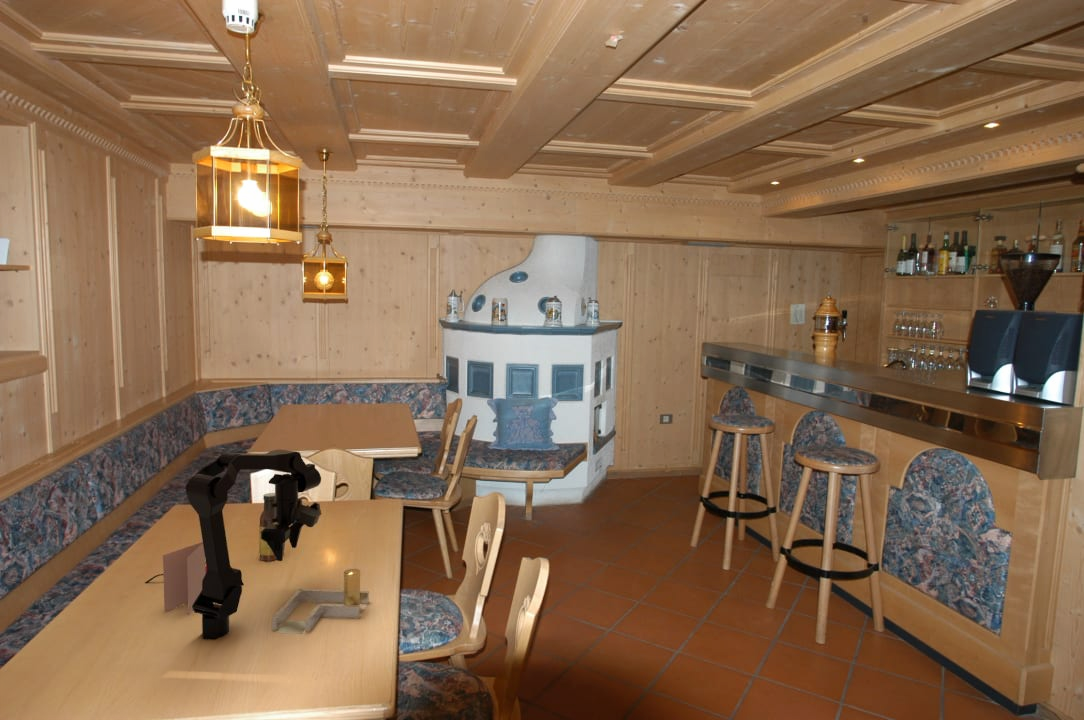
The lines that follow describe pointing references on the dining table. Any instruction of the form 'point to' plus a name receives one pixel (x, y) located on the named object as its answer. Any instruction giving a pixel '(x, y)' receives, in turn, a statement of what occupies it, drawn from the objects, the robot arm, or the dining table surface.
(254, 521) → the dining table surface
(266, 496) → the sauce bottle
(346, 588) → the brass peg
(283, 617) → the steel rails
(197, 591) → the greeting card
